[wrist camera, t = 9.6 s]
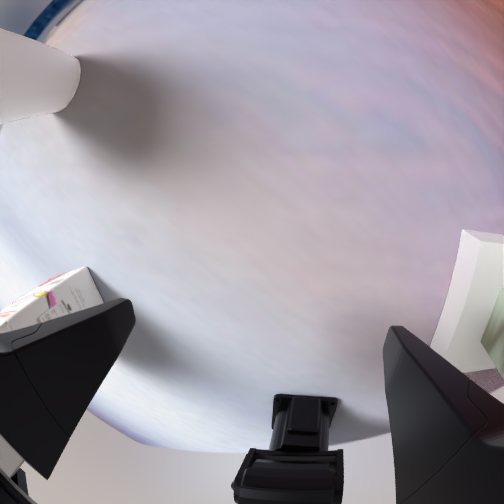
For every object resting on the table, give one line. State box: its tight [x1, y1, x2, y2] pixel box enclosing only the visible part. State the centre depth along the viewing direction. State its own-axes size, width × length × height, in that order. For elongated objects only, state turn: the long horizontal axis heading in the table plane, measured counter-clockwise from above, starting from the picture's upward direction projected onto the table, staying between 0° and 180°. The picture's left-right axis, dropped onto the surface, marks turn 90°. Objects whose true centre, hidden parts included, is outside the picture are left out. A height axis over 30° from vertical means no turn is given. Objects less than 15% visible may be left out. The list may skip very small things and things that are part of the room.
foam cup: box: [0, 28, 81, 124], centre depth 13 cm, size 10×9×13 cm
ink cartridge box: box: [0, 267, 104, 334], centre depth 20 cm, size 9×5×15 cm, turn 108°
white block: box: [430, 229, 504, 373], centre depth 16 cm, size 12×12×3 cm
